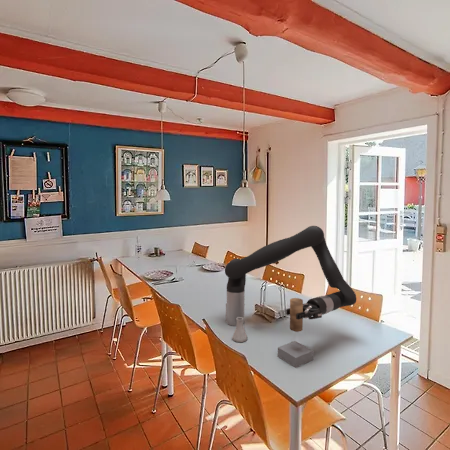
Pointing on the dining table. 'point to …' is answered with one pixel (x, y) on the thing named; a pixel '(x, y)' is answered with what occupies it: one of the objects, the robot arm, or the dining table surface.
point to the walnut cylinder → (295, 308)
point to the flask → (239, 331)
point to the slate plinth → (295, 353)
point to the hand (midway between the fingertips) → (291, 314)
